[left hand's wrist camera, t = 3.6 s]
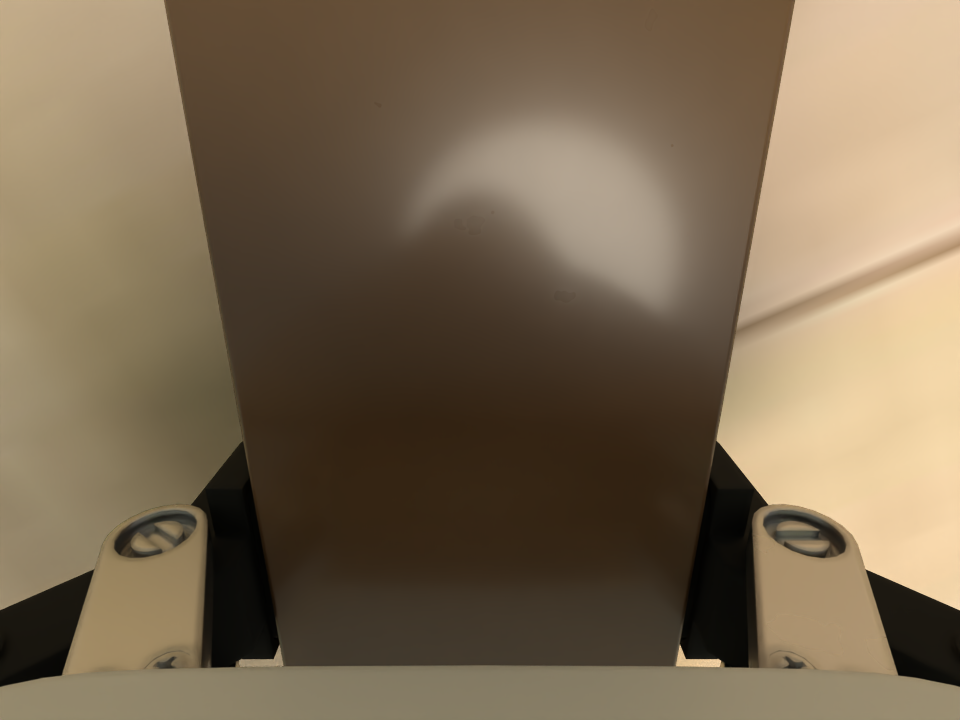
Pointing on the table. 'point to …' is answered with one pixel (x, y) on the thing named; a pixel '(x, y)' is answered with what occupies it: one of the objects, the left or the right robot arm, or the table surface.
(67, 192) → the table surface
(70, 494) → the table surface
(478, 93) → the post
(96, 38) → the table surface
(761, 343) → the table surface
